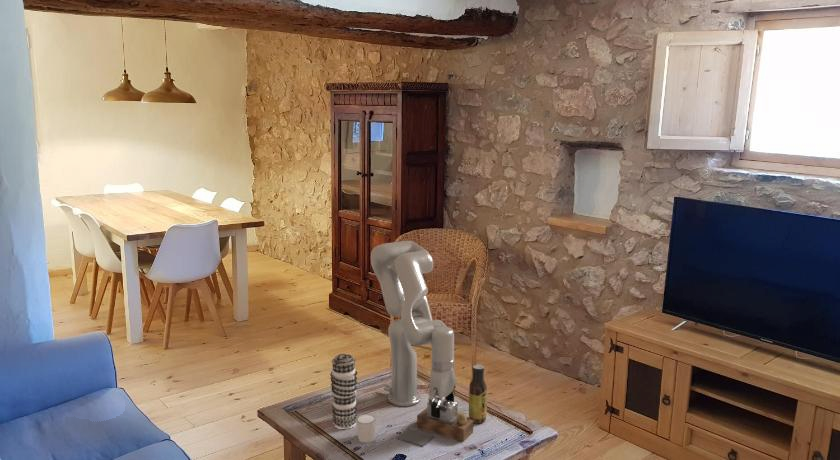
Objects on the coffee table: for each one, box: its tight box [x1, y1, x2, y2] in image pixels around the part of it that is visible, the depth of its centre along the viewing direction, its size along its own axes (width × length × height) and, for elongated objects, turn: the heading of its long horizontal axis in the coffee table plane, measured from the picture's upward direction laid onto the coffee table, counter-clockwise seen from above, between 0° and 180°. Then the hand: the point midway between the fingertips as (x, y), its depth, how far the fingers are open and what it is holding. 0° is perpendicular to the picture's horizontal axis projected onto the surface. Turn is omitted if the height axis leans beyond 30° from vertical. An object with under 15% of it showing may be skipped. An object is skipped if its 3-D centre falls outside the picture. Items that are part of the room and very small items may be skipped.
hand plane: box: [416, 407, 474, 442], centre depth 215 cm, size 18×7×8 cm, turn 59°
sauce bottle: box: [468, 364, 488, 424], centre depth 221 cm, size 7×6×20 cm
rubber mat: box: [396, 427, 435, 448], centre depth 211 cm, size 10×7×1 cm
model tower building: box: [329, 353, 358, 430], centre depth 218 cm, size 9×9×25 cm
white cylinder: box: [355, 413, 377, 443], centre depth 210 cm, size 7×7×7 cm
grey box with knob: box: [426, 398, 459, 423], centre depth 215 cm, size 9×5×6 cm, turn 59°
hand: (442, 410), depth 215 cm, fingers open, 9 cm apart
